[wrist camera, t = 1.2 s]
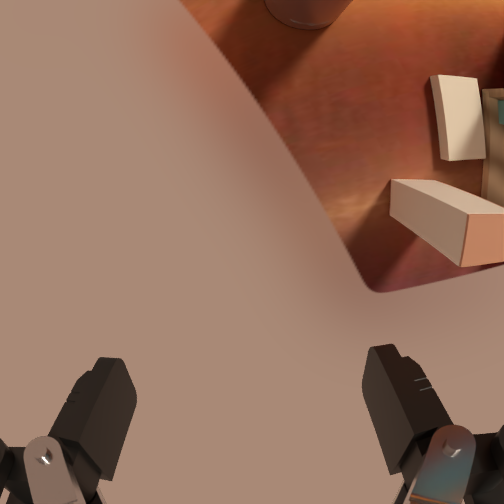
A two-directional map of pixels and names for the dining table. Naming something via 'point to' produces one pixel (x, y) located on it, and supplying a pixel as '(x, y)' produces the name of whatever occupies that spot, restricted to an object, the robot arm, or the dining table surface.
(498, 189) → the shelf
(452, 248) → the cream tall box
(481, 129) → the cream book lying flat
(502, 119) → the teal book
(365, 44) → the dining table surface
